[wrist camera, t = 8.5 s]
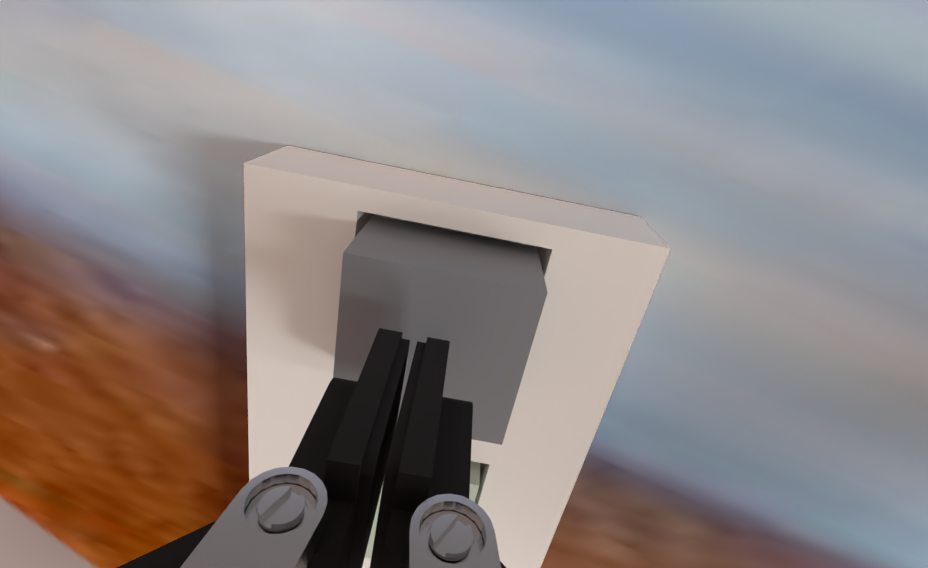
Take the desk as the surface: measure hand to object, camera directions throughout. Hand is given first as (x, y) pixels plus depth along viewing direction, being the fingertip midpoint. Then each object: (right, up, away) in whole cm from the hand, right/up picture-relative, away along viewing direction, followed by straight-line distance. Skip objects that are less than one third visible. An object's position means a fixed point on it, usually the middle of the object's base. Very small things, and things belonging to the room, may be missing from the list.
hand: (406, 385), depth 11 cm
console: (-1, -5, +10) cm, 11 cm away
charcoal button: (+1, +2, +4) cm, 4 cm away
